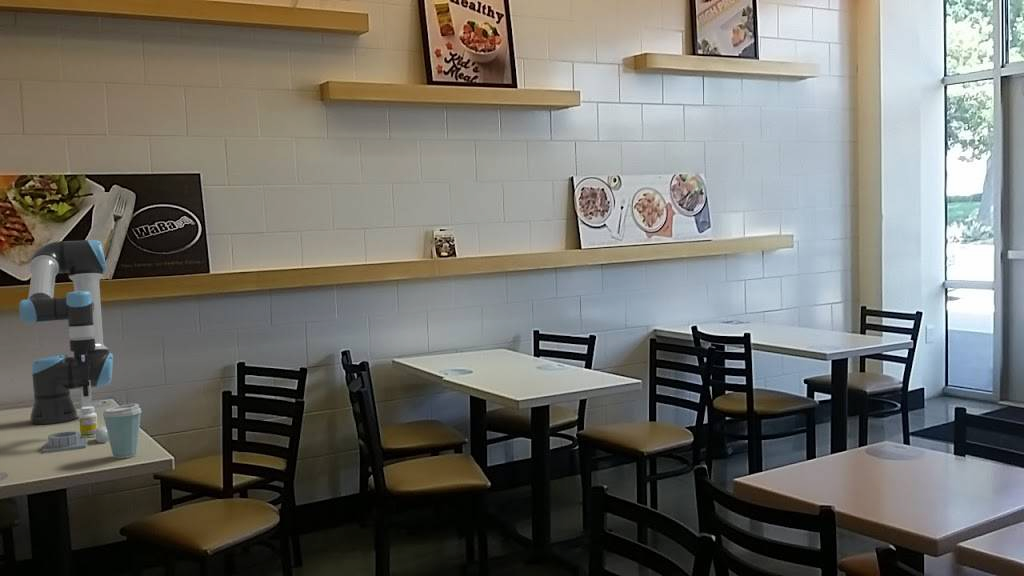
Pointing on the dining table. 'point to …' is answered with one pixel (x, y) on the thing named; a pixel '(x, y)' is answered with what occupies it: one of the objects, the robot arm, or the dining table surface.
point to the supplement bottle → (88, 422)
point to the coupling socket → (64, 441)
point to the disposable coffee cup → (123, 429)
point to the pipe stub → (102, 434)
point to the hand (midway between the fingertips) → (87, 403)
